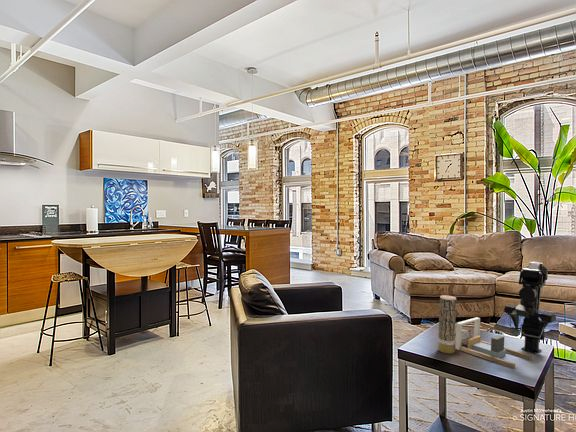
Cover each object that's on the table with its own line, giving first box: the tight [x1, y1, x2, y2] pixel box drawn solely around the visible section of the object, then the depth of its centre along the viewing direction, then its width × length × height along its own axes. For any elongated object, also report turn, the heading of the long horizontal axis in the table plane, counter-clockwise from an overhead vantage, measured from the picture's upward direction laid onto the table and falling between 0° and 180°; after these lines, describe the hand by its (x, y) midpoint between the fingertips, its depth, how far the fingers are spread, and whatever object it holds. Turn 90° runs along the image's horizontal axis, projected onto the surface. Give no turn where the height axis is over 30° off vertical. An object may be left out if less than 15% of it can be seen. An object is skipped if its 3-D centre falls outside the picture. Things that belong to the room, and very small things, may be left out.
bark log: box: [437, 294, 457, 355], centre depth 172 cm, size 7×7×25 cm
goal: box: [454, 316, 481, 351], centre depth 180 cm, size 18×2×12 cm, turn 126°
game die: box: [455, 328, 473, 348], centre depth 180 cm, size 9×8×10 cm
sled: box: [467, 334, 507, 359], centre depth 173 cm, size 10×13×8 cm
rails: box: [460, 339, 534, 369], centre depth 169 cm, size 18×23×2 cm
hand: (528, 332), depth 164 cm, fingers open, 9 cm apart
